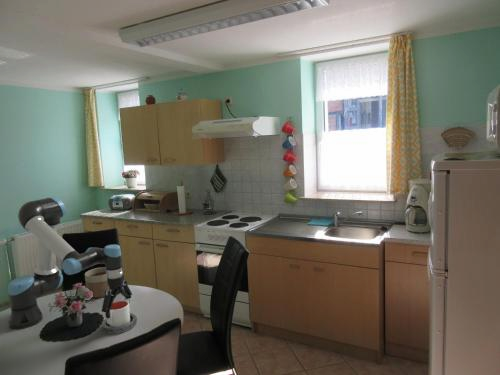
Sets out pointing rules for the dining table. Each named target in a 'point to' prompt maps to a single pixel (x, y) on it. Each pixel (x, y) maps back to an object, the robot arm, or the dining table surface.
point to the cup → (120, 313)
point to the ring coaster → (115, 330)
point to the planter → (97, 281)
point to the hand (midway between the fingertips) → (119, 316)
